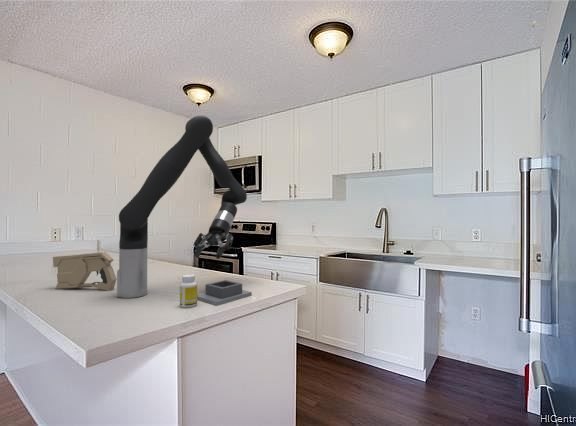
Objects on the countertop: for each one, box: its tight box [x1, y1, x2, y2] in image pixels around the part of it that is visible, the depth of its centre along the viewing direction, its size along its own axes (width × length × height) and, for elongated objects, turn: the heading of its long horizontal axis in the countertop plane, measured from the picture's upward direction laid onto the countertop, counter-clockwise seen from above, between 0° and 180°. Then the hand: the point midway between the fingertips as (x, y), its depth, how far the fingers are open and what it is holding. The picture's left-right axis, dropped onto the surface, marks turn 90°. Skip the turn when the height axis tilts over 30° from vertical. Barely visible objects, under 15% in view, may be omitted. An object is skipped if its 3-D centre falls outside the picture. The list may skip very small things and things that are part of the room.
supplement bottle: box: [179, 273, 198, 309], centre depth 98 cm, size 5×5×10 cm
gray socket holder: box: [197, 279, 253, 306], centre depth 108 cm, size 16×12×5 cm
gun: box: [52, 251, 117, 292], centre depth 119 cm, size 24×3×15 cm, turn 84°
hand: (206, 257), depth 109 cm, fingers open, 8 cm apart
